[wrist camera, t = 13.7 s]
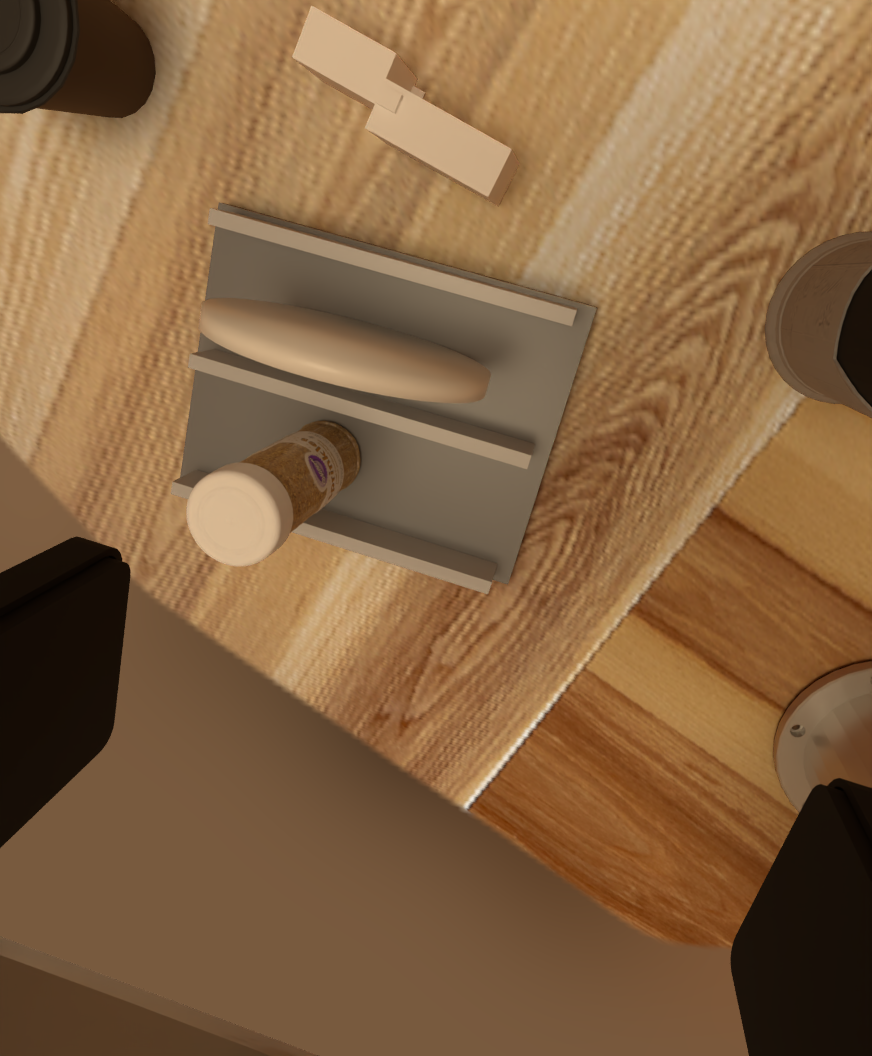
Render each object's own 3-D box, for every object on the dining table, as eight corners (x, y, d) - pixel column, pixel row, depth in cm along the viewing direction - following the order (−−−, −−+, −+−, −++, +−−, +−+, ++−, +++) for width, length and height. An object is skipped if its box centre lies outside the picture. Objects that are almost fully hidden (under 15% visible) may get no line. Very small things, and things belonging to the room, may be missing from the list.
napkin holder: (571, 199, 41) (569, 187, 35) (386, 288, 44) (359, 289, 39) (463, -97, 37) (443, -160, 32) (272, 22, 41) (225, -17, 35)
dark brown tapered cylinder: (72, -51, 41) (-79, -147, 32) (200, 28, 41) (87, -45, 32) (28, 99, 44) (-122, 51, 34) (148, 172, 44) (30, 144, 35)
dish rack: (596, 307, 42) (603, 322, 27) (509, 577, 48) (478, 704, 33) (228, 204, 44) (57, 169, 29) (188, 476, 50) (30, 556, 35)
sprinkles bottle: (377, 462, 46) (299, 533, 33) (323, 505, 47) (229, 588, 35) (328, 402, 45) (230, 451, 32) (276, 448, 46) (162, 511, 34)
